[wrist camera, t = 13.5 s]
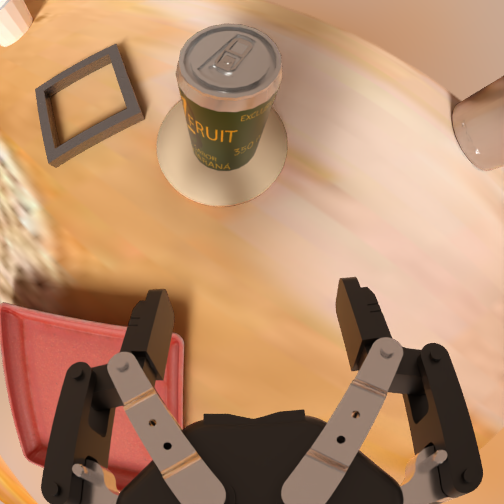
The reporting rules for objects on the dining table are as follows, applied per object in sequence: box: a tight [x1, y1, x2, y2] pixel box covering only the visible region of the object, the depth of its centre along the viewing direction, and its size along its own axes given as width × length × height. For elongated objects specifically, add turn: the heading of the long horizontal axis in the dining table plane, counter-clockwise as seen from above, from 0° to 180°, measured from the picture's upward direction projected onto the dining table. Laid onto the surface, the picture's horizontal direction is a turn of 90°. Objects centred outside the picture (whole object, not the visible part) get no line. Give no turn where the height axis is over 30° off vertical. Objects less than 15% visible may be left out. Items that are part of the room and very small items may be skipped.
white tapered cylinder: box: [0, 0, 33, 47], centre depth 19 cm, size 7×7×7 cm
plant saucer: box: [0, 302, 184, 492], centre depth 22 cm, size 18×18×3 cm
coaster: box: [157, 100, 287, 207], centre depth 24 cm, size 11×11×1 cm
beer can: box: [176, 24, 282, 171], centre depth 18 cm, size 5×5×12 cm
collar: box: [35, 44, 144, 168], centre depth 23 cm, size 10×10×2 cm
